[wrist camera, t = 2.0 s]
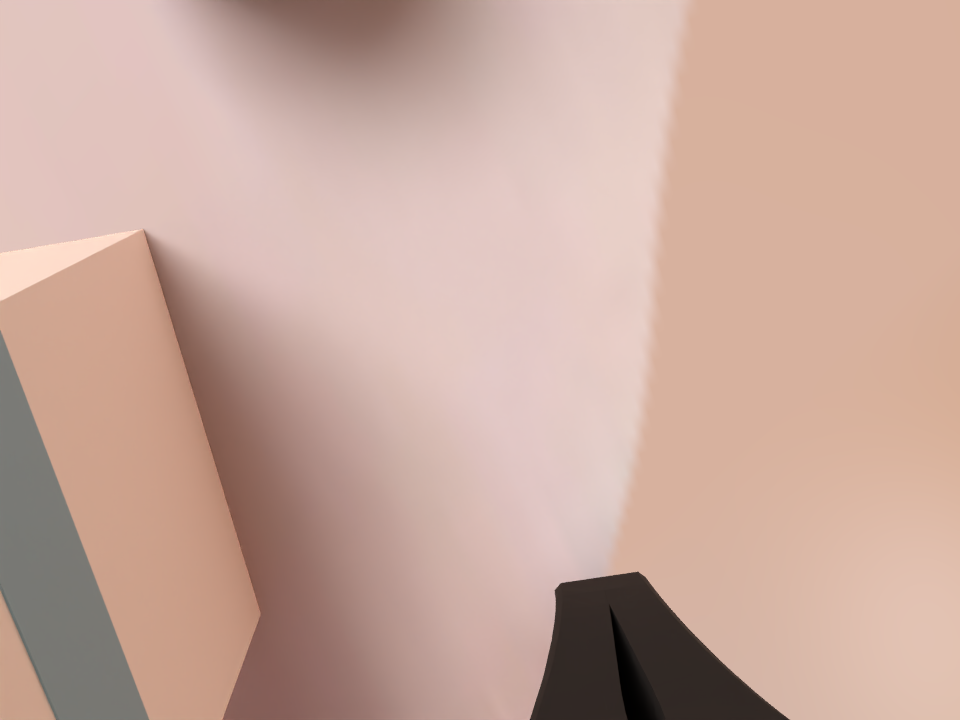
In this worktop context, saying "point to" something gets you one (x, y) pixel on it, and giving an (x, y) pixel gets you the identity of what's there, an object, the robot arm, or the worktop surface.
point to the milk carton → (109, 500)
